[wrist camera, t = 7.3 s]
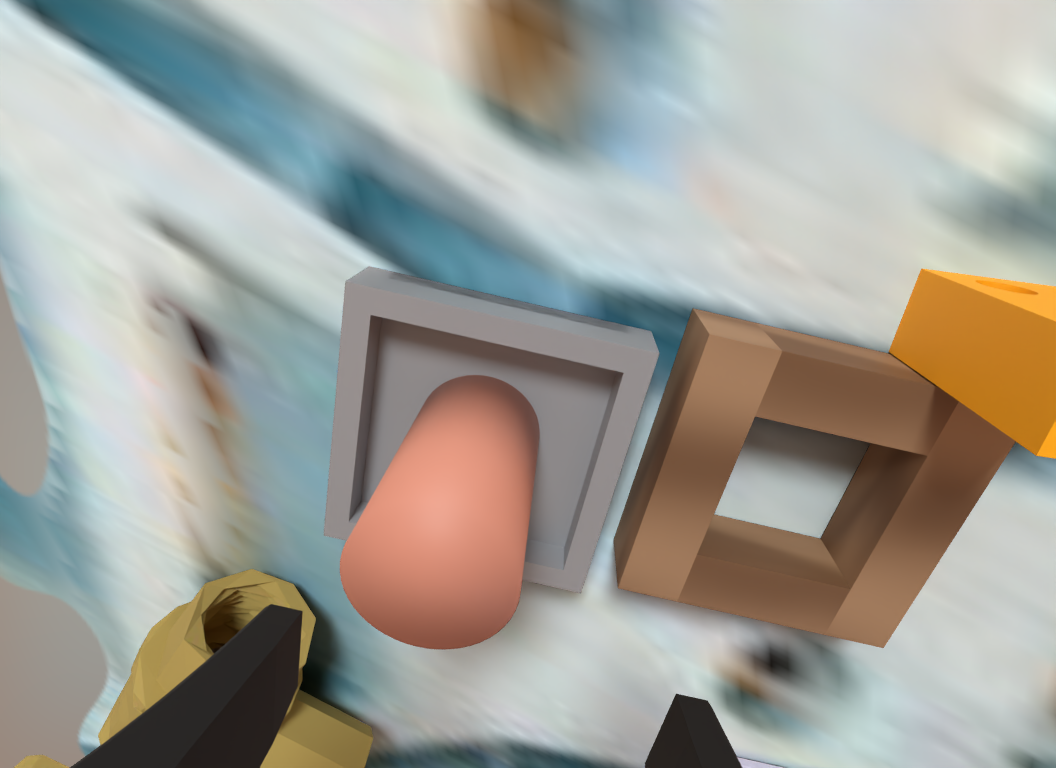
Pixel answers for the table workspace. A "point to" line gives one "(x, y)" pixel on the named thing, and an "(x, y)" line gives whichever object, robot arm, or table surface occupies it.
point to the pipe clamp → (987, 350)
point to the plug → (449, 520)
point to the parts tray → (500, 352)
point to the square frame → (863, 513)
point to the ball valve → (200, 631)
